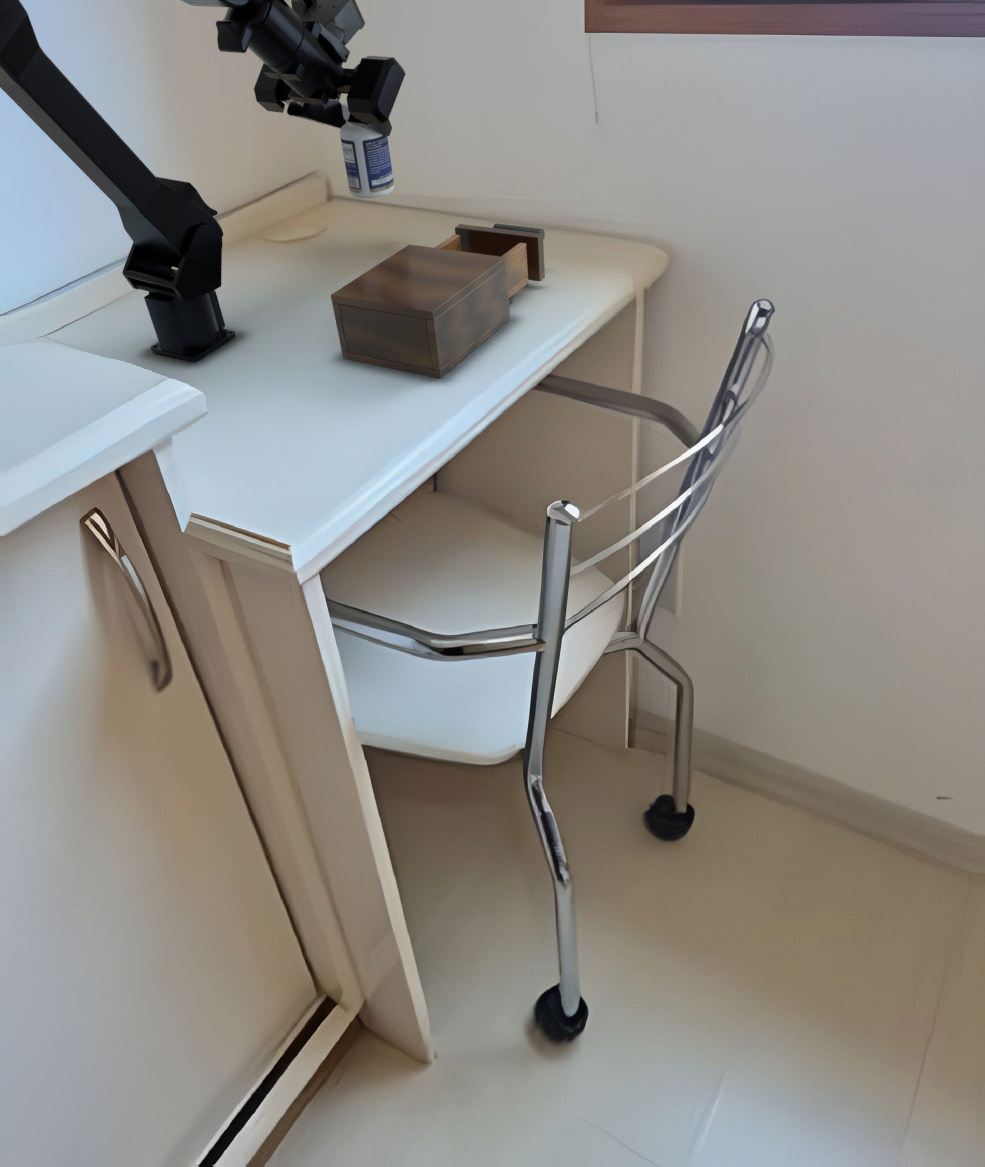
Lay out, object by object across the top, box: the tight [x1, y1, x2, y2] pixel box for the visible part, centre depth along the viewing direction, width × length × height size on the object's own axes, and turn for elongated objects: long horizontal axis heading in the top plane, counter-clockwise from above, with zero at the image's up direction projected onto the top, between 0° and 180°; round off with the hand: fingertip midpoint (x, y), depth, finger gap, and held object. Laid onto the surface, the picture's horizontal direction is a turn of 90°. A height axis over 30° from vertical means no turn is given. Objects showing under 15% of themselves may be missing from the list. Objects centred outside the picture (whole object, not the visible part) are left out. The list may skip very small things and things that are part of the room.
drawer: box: [433, 223, 546, 300], centre depth 100 cm, size 17×10×5 cm, turn 150°
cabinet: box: [330, 244, 511, 379], centre depth 92 cm, size 14×12×7 cm
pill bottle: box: [339, 101, 395, 199], centre depth 108 cm, size 5×5×10 cm
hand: (371, 130), depth 108 cm, fingers closed on pill bottle, 5 cm apart
